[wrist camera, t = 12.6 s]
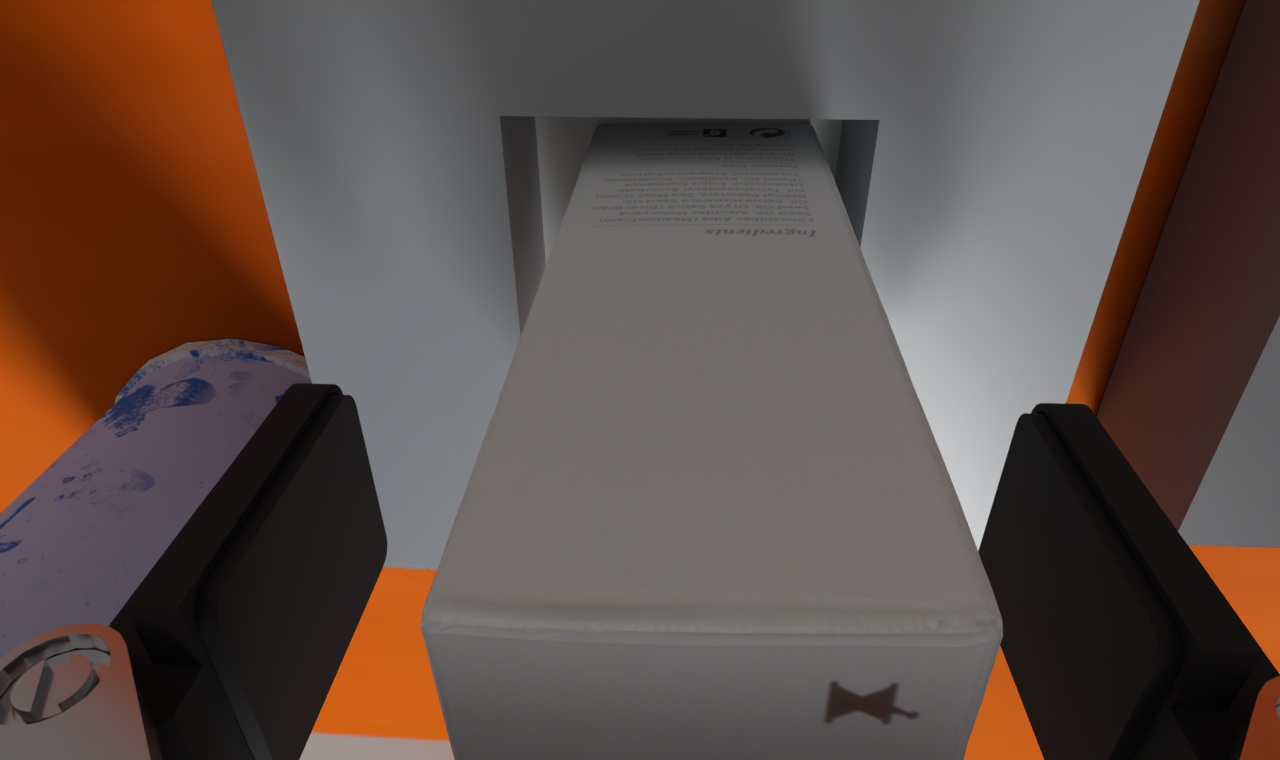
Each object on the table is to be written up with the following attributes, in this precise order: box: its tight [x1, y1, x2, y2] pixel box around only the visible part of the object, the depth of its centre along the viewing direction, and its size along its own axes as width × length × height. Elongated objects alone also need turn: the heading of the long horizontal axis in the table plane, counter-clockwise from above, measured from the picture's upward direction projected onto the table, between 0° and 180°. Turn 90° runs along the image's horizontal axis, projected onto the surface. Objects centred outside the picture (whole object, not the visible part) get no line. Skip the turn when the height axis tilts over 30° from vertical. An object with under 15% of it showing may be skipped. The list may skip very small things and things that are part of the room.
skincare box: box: [421, 124, 1003, 760], centre depth 12 cm, size 6×4×12 cm
